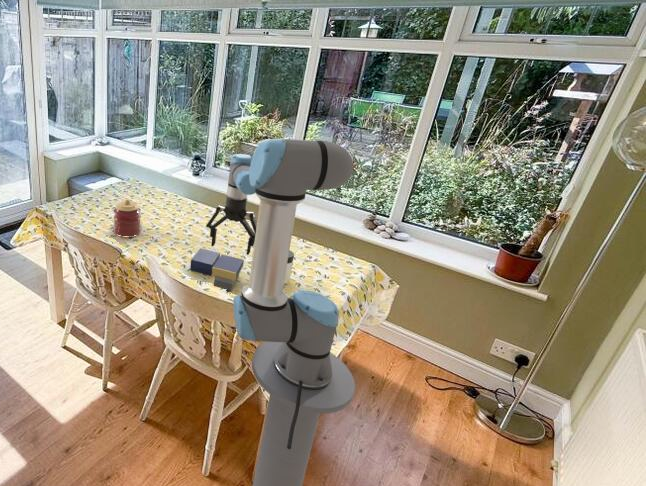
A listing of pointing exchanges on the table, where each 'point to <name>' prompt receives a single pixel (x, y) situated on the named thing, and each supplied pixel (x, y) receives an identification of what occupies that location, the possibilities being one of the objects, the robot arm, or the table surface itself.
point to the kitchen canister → (127, 218)
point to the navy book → (227, 267)
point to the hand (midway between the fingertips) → (230, 249)
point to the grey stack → (224, 282)
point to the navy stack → (204, 261)
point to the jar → (289, 267)
